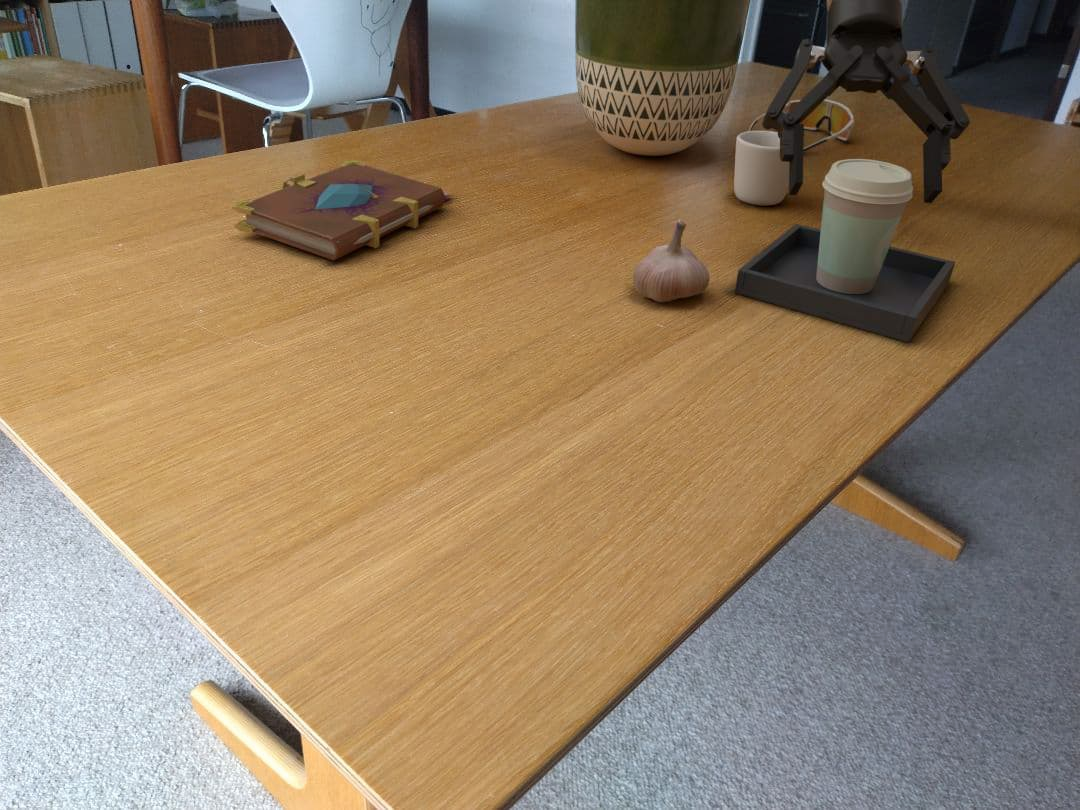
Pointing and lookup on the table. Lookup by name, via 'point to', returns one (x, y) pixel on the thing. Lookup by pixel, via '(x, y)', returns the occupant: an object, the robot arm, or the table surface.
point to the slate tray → (884, 310)
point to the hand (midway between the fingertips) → (864, 193)
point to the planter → (656, 68)
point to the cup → (760, 169)
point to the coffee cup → (859, 222)
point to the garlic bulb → (670, 271)
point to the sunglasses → (831, 110)
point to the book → (339, 209)
